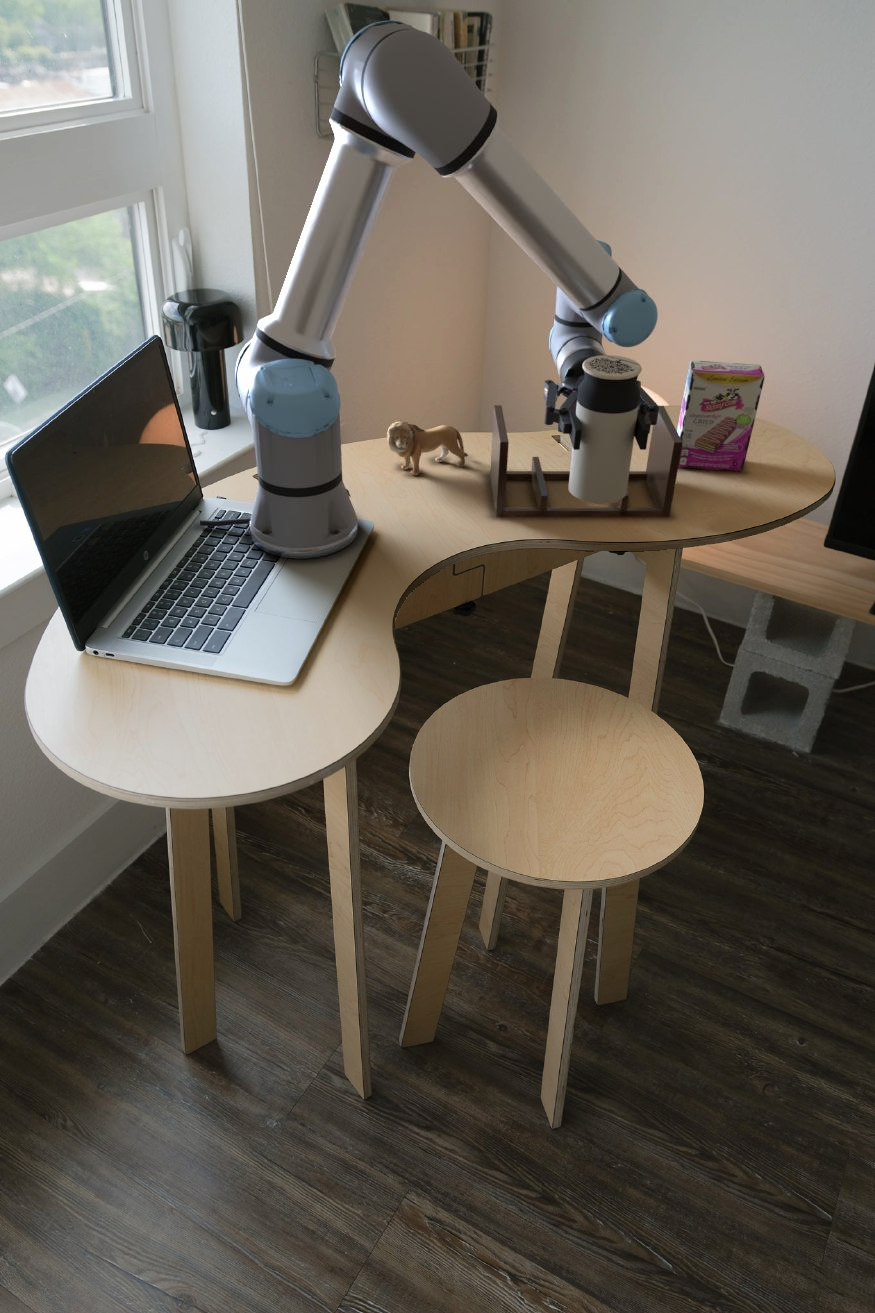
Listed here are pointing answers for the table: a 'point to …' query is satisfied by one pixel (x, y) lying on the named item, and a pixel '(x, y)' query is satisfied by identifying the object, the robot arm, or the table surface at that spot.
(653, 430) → the rack
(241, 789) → the table surface
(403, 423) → the lion figurine
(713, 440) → the candy bar box
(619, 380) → the travel mug
